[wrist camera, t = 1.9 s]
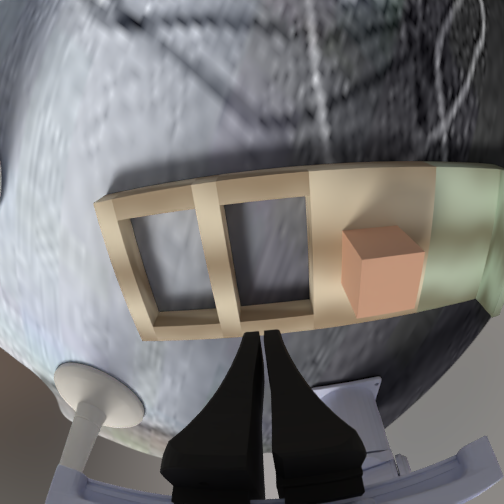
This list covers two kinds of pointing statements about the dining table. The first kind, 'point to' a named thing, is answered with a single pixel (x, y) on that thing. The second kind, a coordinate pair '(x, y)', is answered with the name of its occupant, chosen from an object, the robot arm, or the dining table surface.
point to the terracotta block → (380, 270)
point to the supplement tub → (0, 178)
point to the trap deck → (321, 240)
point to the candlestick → (93, 408)
